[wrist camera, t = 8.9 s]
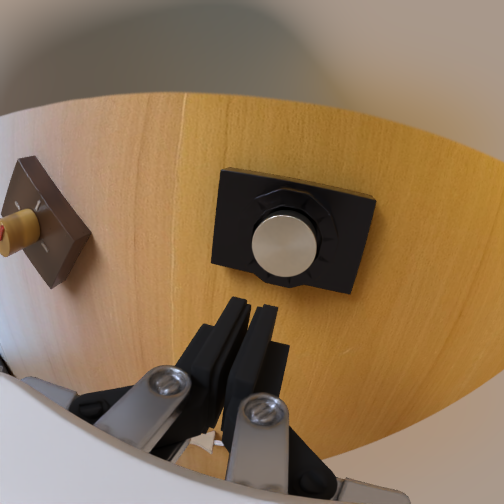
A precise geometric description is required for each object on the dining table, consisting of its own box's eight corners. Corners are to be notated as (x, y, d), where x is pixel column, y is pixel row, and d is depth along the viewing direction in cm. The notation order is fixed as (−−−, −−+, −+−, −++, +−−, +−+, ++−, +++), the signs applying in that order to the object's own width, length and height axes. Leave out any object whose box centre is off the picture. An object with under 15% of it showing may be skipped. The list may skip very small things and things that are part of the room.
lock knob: (34, 249, 30) (4, 265, 25) (18, 224, 29) (-12, 237, 24) (43, 226, 28) (10, 241, 23) (26, 200, 27) (-7, 212, 23)
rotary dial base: (15, 208, 33) (-1, 214, 30) (35, 155, 29) (16, 158, 26) (65, 280, 34) (50, 290, 31) (91, 232, 30) (73, 241, 27)
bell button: (253, 260, 23) (247, 269, 21) (261, 204, 21) (256, 209, 19) (310, 272, 22) (308, 283, 20) (322, 216, 20) (322, 223, 19)
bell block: (218, 254, 27) (202, 272, 24) (228, 166, 24) (212, 171, 21) (348, 283, 25) (351, 306, 22) (372, 195, 22) (381, 205, 19)
